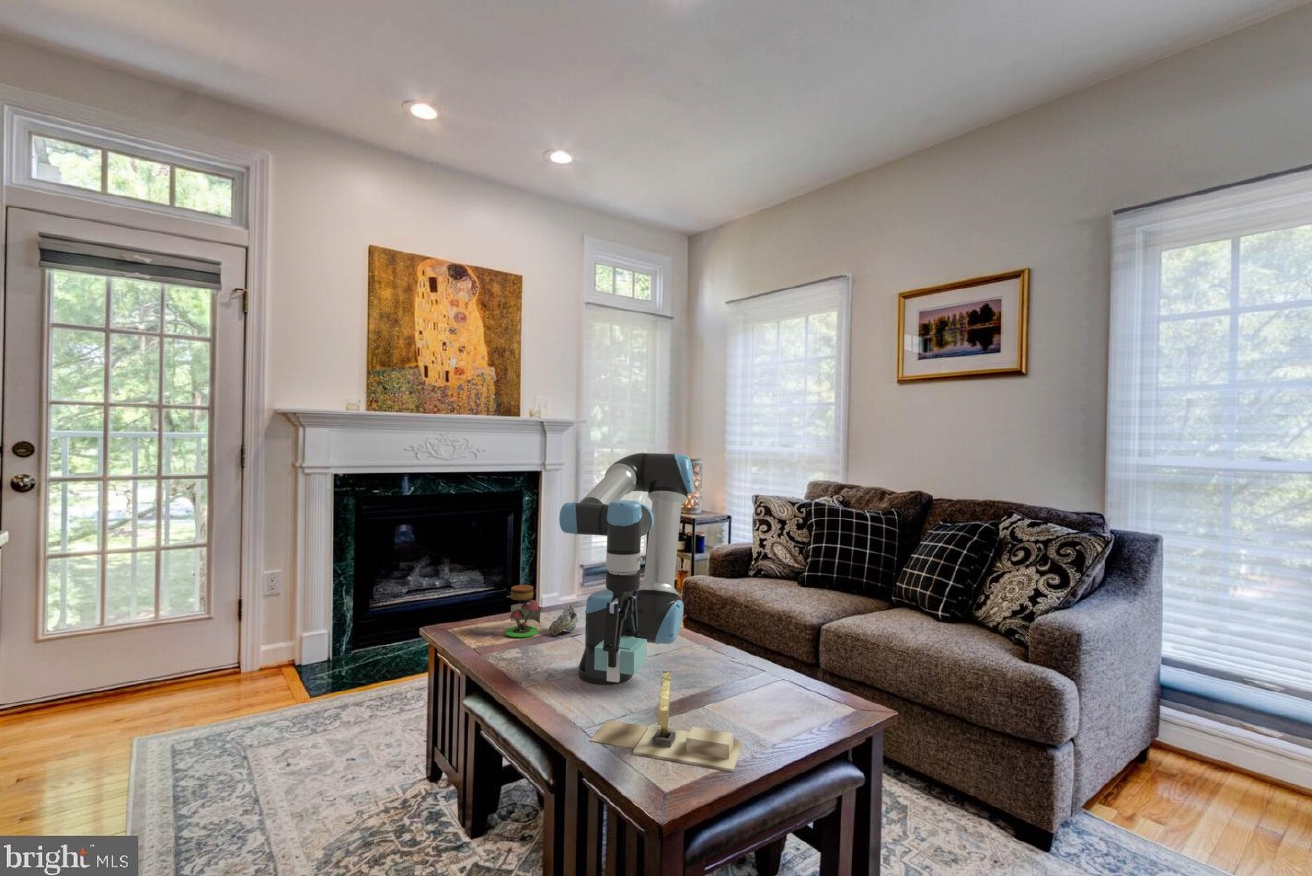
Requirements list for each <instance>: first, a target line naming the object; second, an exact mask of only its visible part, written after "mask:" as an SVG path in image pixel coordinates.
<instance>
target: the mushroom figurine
mask: <svg viewBox="0 0 1312 876" xmlns="http://www.w3.org/2000/svg"><path fill="white" fill-rule="evenodd" d="M510 599H511V600H513V601H514V600H515V601H526V602H525V603H516V604H512V605H510V616H509V618H510V622H516V625H515V626H511V627H508V628H506V629H505V631H504V634H505V635H506V636H507V637H511V638H527V637H531V636H534V635H536V634H537V633H538V628H537V627H536V626H533V625H529V624H528V622H527V621H528V620H529V621H530V620H531V621H532V620H533V621H535V622H537V623H538V624H539V625H540V623H541V622H540V621H541V612H542V610H543V609H544V607H542V606H539V605H538V602H537V601H536V600H534V586H533V585H530V584H529V585H528V584H518V585H517V584H516V585H513V586H511V588H510ZM521 621H522V622H521Z"/></svg>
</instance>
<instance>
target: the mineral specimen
mask: <svg viewBox="0 0 1312 876" xmlns="http://www.w3.org/2000/svg"><path fill="white" fill-rule="evenodd" d="M578 621H579V619H578V615H577V613H576V609H575V607H574V606H573V604H569V605H568V606H567V607H566V608H564V609H563V611H562V613H560V614H559V616H558V617H557V619H556V620H553V621H552V623H551V624H550V626H549V627H548V631H549V632H550V633H551V634H552V636H558V634H560V633H562V632H563V630H566V631H567V632H573V631H575V628H577V625H576V623H578Z"/></svg>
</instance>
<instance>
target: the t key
mask: <svg viewBox="0 0 1312 876" xmlns="http://www.w3.org/2000/svg"><path fill="white" fill-rule="evenodd" d="M661 675H662V676H661V684H660V689H659V691H660V692H659V698H658V699H659V700H658V706H657V726H660V727H661V736H660V737H662V738H668V728H669V714H670V704H671V692H672V671H664V670H663V671H662V674H661Z"/></svg>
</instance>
